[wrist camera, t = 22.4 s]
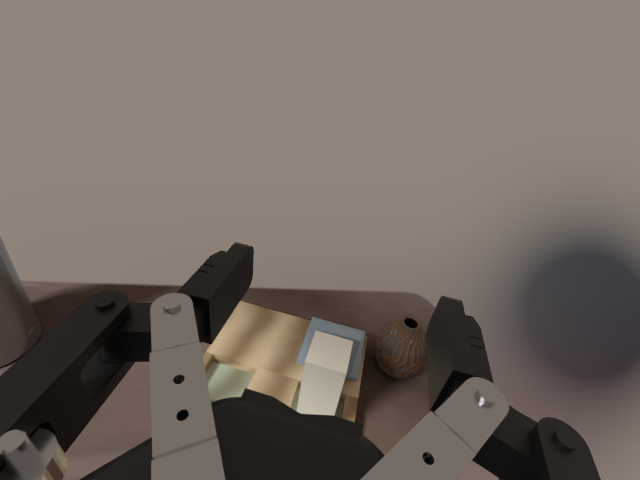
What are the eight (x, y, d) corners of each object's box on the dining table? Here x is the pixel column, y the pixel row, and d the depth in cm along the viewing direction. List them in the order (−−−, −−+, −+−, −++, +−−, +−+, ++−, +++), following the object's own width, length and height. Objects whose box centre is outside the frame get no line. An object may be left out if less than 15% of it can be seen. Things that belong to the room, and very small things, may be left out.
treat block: (293, 428, 38) (305, 361, 31) (303, 396, 41) (315, 330, 35) (327, 439, 37) (346, 373, 31) (334, 406, 41) (353, 341, 34)
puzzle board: (169, 419, 37) (168, 409, 36) (239, 310, 52) (239, 300, 51) (344, 477, 35) (347, 469, 34) (364, 345, 50) (367, 336, 49)
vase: (361, 351, 49) (374, 308, 44) (400, 340, 52) (416, 299, 47) (386, 393, 44) (405, 350, 39) (428, 379, 46) (449, 336, 42)
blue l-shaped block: (296, 363, 43) (302, 324, 39) (311, 319, 50) (318, 282, 46) (357, 381, 42) (369, 343, 38) (364, 334, 49) (375, 297, 45)
